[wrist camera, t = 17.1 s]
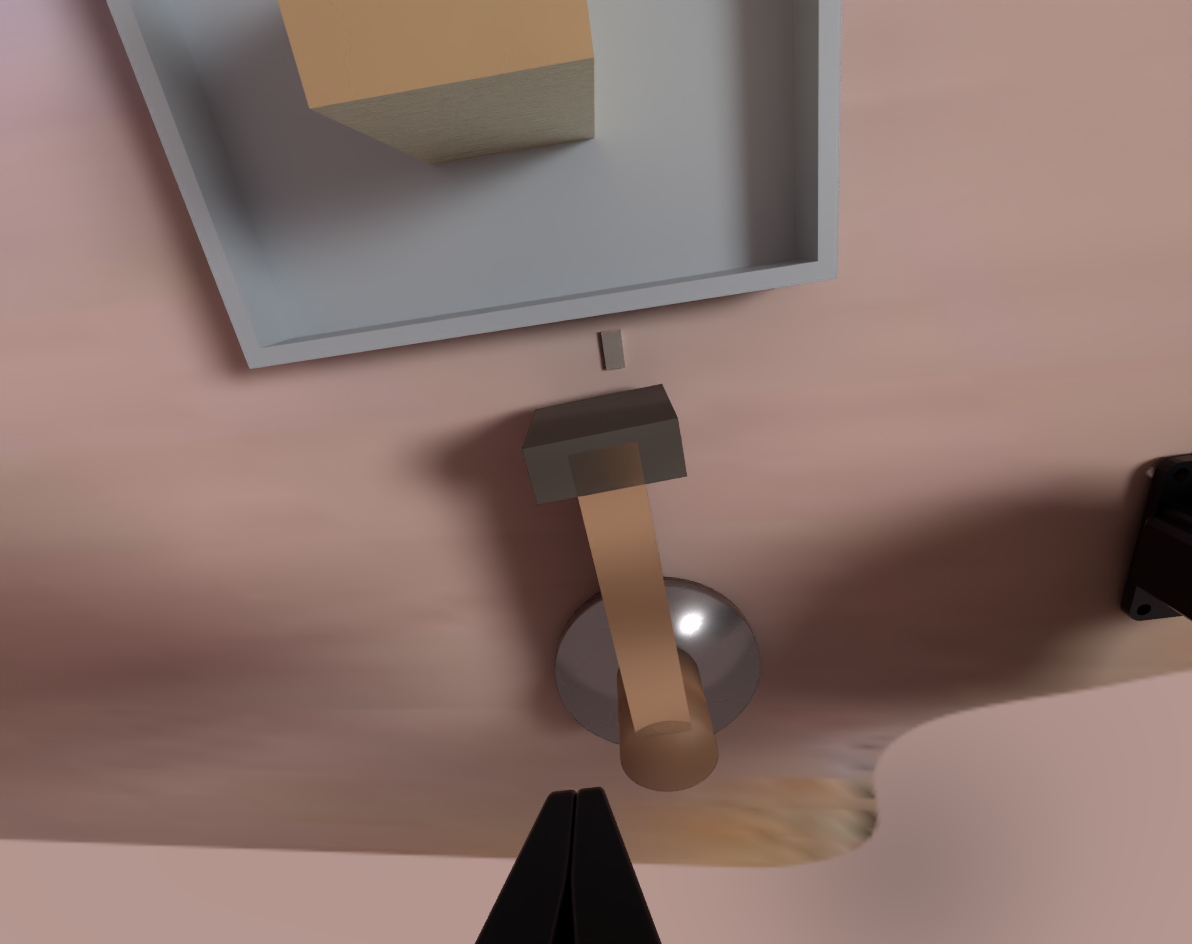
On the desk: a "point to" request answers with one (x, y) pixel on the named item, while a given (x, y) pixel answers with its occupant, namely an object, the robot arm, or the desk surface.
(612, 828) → the robot arm
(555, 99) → the stop block
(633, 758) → the crank lever
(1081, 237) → the desk surface
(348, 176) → the stop tray
